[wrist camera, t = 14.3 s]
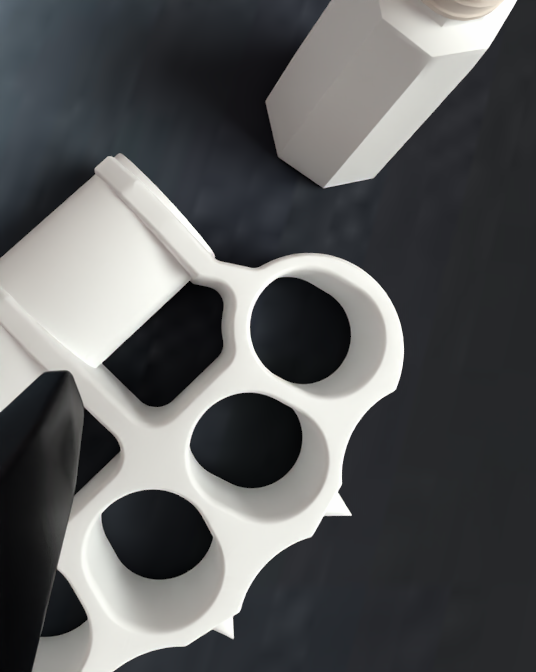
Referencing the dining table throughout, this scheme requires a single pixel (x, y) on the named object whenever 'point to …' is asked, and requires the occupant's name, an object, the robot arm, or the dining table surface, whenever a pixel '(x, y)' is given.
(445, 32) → the salt shaker
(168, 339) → the dining table surface
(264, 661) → the dining table surface
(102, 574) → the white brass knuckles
